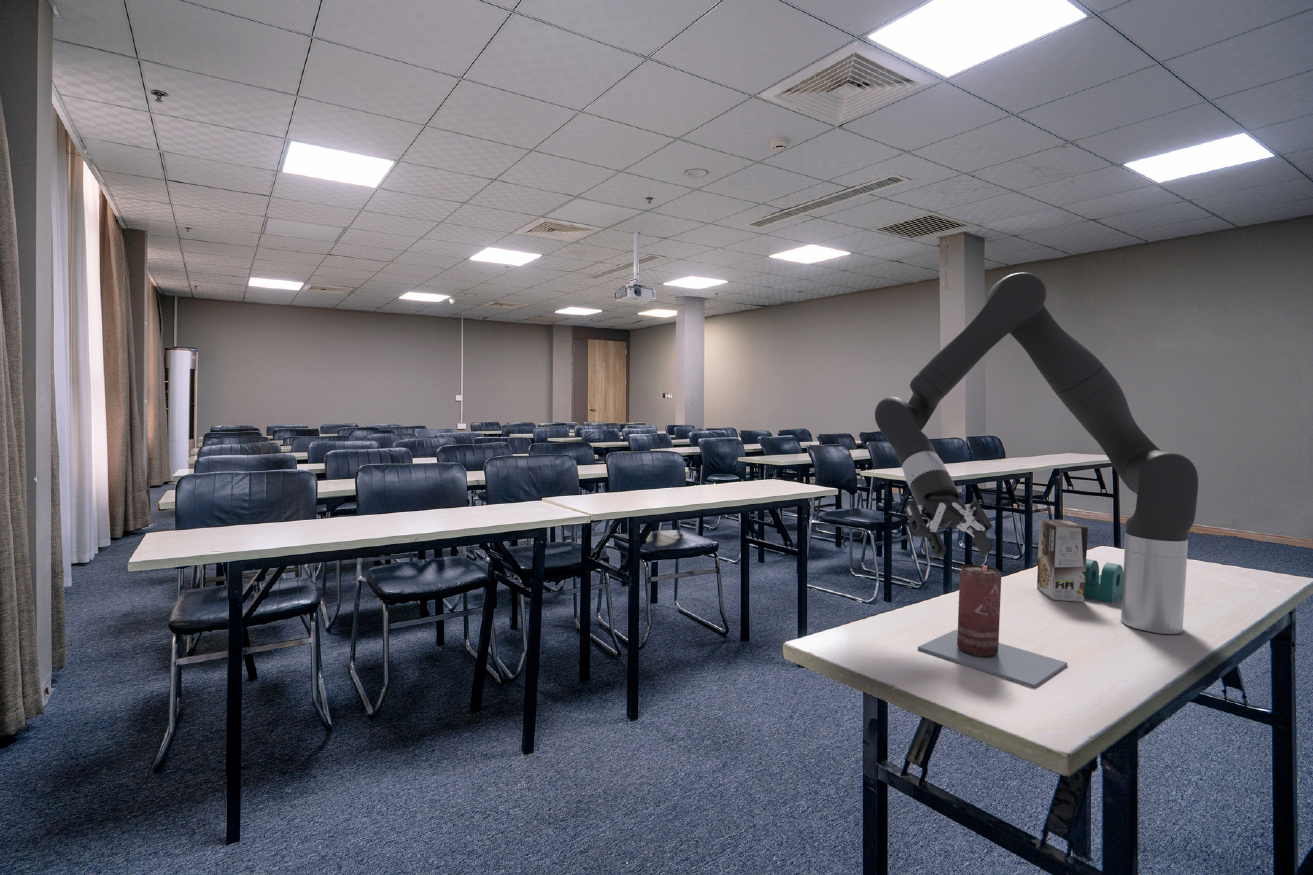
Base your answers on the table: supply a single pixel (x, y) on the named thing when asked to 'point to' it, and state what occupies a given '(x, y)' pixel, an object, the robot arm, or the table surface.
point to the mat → (999, 661)
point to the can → (979, 611)
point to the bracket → (1103, 581)
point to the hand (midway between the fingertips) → (964, 553)
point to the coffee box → (1062, 559)
